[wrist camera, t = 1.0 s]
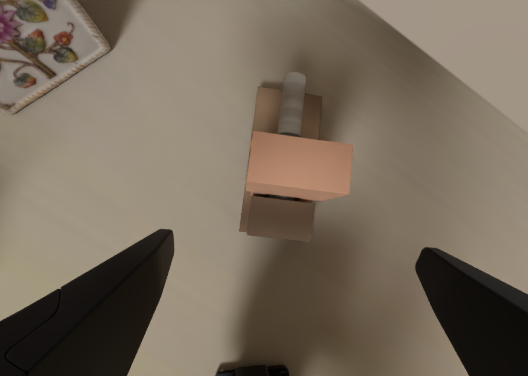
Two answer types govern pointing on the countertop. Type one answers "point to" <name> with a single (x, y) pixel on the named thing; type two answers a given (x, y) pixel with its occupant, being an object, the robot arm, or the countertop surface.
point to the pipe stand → (291, 124)
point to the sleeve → (298, 167)
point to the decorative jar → (43, 48)
